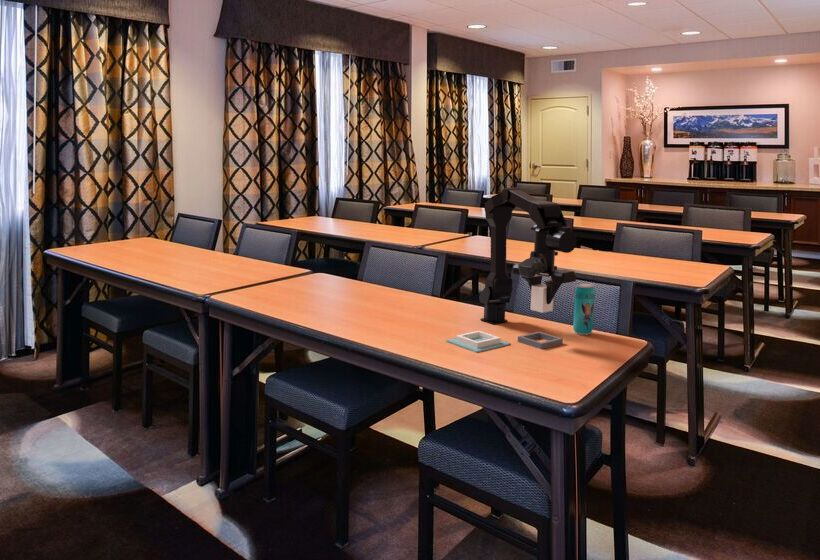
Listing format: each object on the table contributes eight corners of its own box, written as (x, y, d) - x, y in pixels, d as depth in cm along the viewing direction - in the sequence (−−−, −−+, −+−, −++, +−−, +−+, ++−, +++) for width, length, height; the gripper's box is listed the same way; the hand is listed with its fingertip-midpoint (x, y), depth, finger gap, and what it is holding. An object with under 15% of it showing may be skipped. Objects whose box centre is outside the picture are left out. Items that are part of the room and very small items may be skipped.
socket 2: (517, 341, 180) (517, 336, 180) (538, 336, 186) (538, 331, 185) (541, 349, 173) (541, 343, 173) (562, 343, 179) (562, 338, 178)
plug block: (530, 309, 178) (531, 285, 177) (542, 307, 181) (543, 283, 180) (542, 312, 174) (543, 288, 173) (554, 310, 177) (555, 286, 176)
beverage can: (579, 336, 186) (582, 287, 183) (569, 331, 191) (572, 283, 188) (596, 335, 187) (599, 286, 184) (585, 330, 193) (588, 282, 190)
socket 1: (445, 341, 180) (446, 335, 179) (479, 334, 187) (479, 328, 187) (476, 352, 169) (476, 346, 169) (510, 344, 177) (510, 338, 177)
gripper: (500, 246, 177) (498, 300, 180) (551, 254, 162) (548, 312, 165) (527, 243, 183) (525, 295, 186) (578, 251, 169) (575, 307, 172)
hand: (542, 302), depth 177 cm, fingers closed on plug block, 4 cm apart
